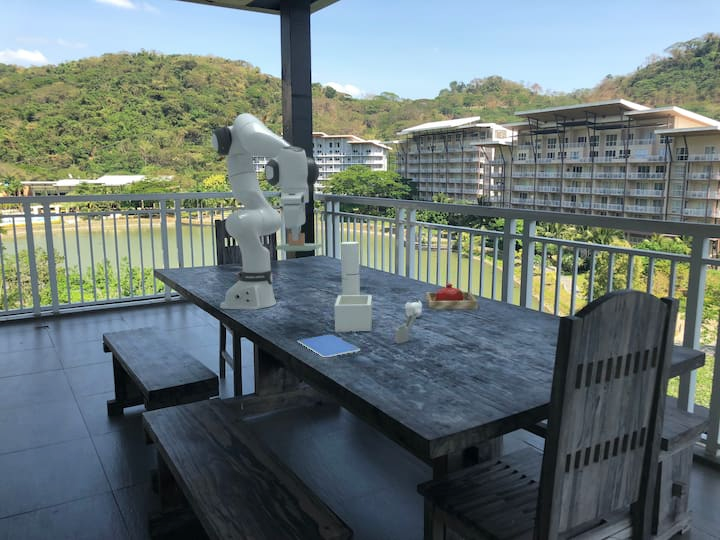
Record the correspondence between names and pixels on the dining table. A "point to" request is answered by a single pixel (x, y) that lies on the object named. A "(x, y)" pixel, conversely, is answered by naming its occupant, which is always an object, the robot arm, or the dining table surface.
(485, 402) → the dining table surface
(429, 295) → the wooden frame
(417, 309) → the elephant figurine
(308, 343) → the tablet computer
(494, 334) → the dining table surface
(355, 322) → the parts tub
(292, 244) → the lid
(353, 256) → the cylindrical container
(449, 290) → the butter dish
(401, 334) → the lighter
